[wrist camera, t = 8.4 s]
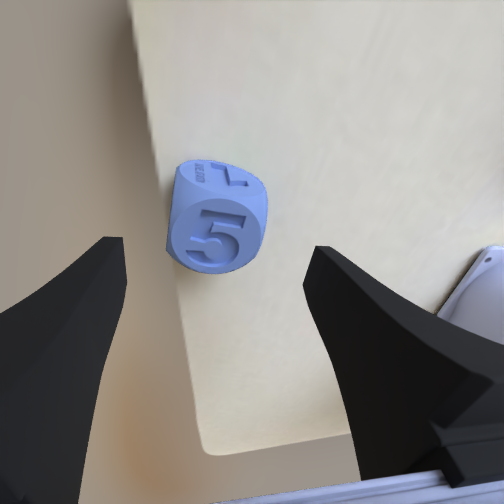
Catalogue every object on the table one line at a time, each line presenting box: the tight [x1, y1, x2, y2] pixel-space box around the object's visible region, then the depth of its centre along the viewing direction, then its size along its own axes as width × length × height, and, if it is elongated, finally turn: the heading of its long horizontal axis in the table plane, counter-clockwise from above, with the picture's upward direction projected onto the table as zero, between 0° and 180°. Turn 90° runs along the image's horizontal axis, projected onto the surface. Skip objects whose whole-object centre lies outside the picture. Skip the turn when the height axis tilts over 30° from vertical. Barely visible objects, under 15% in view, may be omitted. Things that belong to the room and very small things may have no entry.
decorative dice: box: [166, 160, 268, 274], centre depth 14 cm, size 4×4×4 cm
